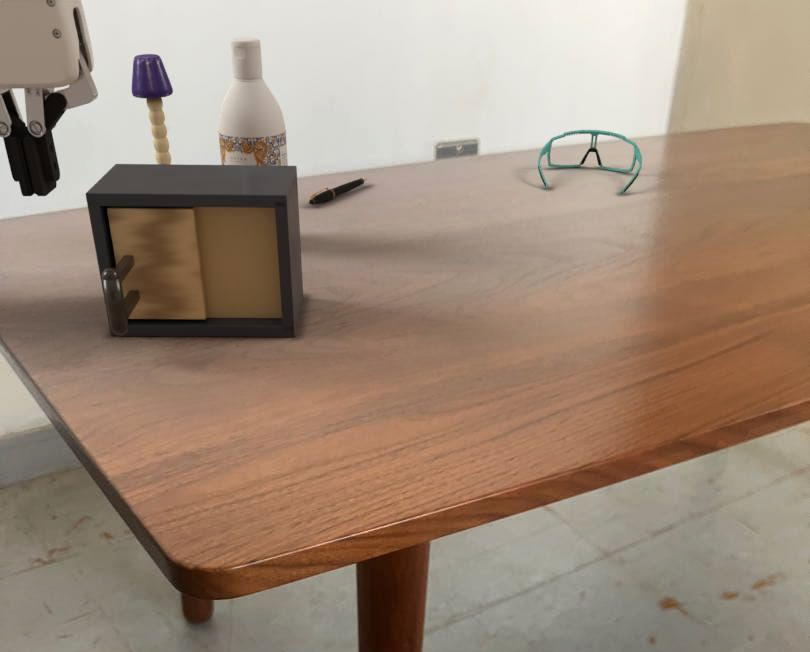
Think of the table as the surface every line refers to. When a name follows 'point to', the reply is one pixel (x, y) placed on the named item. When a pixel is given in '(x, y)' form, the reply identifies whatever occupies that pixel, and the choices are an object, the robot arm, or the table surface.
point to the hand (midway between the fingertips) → (40, 191)
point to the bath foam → (250, 113)
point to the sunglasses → (592, 149)
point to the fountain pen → (334, 192)
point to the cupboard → (219, 242)
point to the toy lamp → (153, 98)
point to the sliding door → (153, 266)
